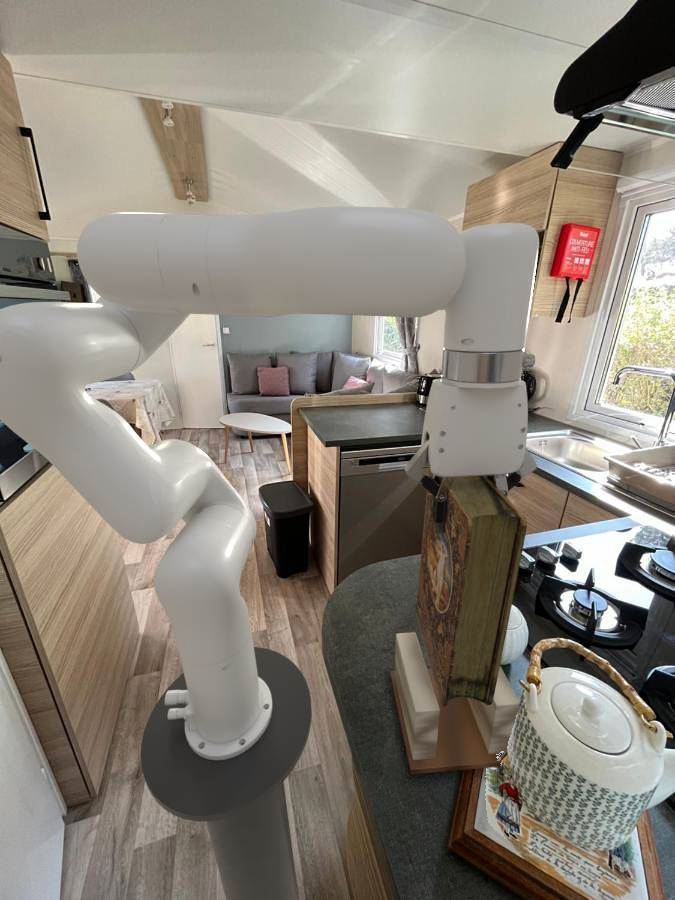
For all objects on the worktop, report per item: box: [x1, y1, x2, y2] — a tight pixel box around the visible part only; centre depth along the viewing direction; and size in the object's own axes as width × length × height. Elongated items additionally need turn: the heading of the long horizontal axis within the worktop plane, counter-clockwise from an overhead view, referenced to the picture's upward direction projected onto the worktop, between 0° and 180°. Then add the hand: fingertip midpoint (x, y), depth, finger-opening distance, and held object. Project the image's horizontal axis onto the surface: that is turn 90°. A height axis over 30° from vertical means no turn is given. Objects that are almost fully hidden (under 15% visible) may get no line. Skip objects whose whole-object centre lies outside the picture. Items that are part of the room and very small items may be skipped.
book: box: [415, 463, 528, 706], centre depth 47 cm, size 16×6×25 cm, turn 1°
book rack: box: [389, 631, 520, 775], centre depth 54 cm, size 14×14×10 cm
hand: (464, 524), depth 44 cm, fingers closed on book, 4 cm apart
